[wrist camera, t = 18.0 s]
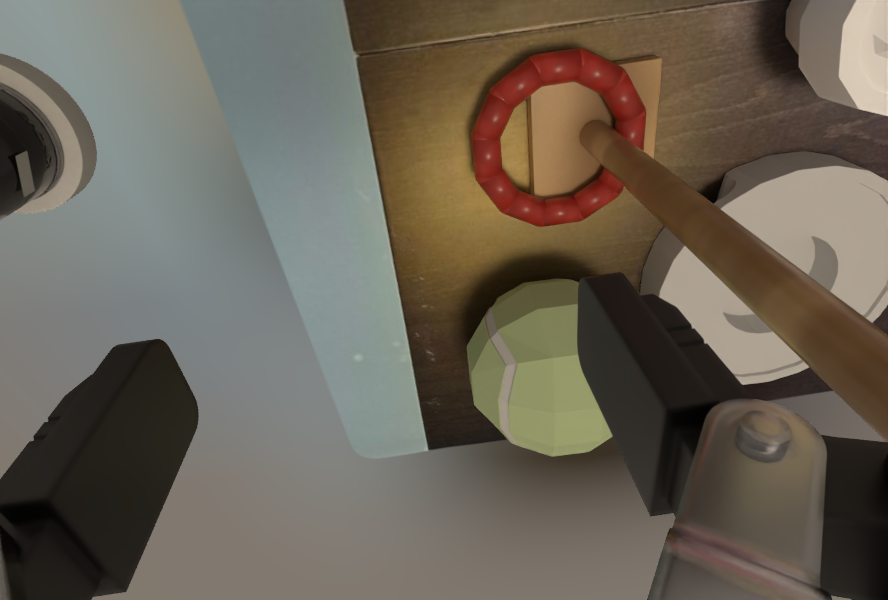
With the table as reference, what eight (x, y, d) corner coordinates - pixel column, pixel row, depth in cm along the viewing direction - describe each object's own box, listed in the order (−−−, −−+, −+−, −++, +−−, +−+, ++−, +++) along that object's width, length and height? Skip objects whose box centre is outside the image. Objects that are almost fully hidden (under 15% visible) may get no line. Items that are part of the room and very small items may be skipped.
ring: (479, 228, 45) (482, 239, 44) (462, 63, 38) (465, 67, 36) (633, 206, 45) (642, 216, 43) (645, 35, 38) (657, 38, 36)
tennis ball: (614, 241, 49) (689, 337, 36) (605, 364, 57) (663, 478, 44) (455, 261, 49) (474, 364, 36) (468, 382, 57) (487, 501, 44)
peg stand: (530, 196, 46) (821, 705, 14) (525, 74, 40) (979, 456, 9) (644, 179, 46) (1194, 654, 14) (654, 55, 40) (1586, 370, 9)
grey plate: (617, 362, 57) (631, 387, 53) (674, 149, 44) (697, 164, 41) (819, 358, 58) (844, 382, 55) (928, 152, 46) (969, 167, 43)
